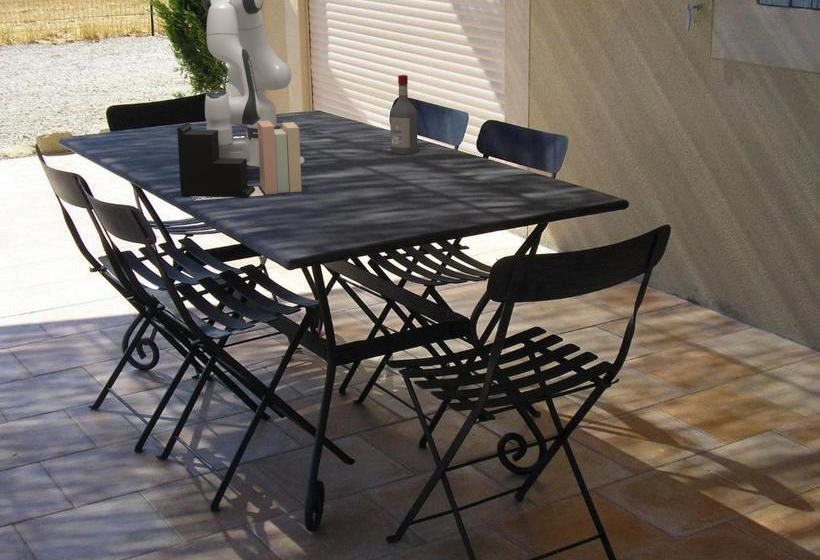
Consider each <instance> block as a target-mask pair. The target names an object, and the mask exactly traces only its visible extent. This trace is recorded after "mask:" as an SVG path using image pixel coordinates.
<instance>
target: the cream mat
mask: <svg viewBox="0 0 820 560" xmlns="http://www.w3.org/2000/svg"><path fill="white" fill-rule="evenodd" d="M253 187H254V188H255V191H254V192H253V193H252V194H251V195H249V196H248V197H258V196H260V197H261V196H264V192H262V189H260V187H259V186H253ZM206 197H209V198H206ZM210 197H212V198H210ZM199 198H201V199H199ZM199 198H198V199H196V200H195V201H205V200H207V201H208V200H217V199H218V200H219V199H232V198H236V197H227V196H221V197H220V196H205V197H203V196H202V197H199Z"/></svg>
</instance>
